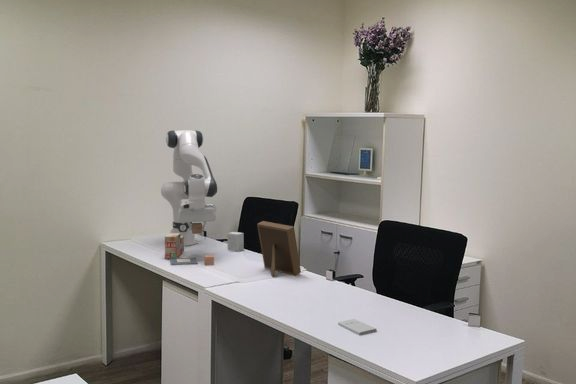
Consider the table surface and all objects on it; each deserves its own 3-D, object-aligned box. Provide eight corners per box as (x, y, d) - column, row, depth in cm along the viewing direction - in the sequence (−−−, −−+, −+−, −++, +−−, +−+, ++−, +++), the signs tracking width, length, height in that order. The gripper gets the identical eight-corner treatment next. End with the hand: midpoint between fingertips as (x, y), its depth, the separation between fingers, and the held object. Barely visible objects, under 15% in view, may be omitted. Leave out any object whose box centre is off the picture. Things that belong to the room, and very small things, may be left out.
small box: (243, 250, 332) (244, 233, 331) (238, 252, 327) (238, 234, 326) (233, 248, 336) (233, 231, 335) (227, 250, 331) (227, 232, 330)
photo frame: (270, 266, 294) (270, 219, 291) (300, 274, 279) (301, 225, 276) (249, 271, 283) (249, 223, 280) (280, 279, 269) (281, 229, 266)
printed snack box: (173, 251, 326) (173, 230, 325) (184, 251, 326) (184, 230, 325) (164, 258, 305) (164, 236, 304) (176, 258, 304) (176, 236, 303)
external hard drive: (359, 336, 197) (337, 326, 208) (376, 332, 202) (354, 322, 212) (359, 332, 197) (338, 321, 208) (376, 328, 202) (355, 318, 212)
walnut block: (191, 232, 304) (191, 223, 303) (201, 231, 305) (201, 222, 304) (192, 233, 299) (192, 224, 298) (202, 233, 300) (202, 224, 300)
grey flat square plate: (169, 259, 306) (169, 257, 306) (195, 258, 309) (195, 256, 309) (170, 265, 292) (170, 263, 292) (197, 264, 296) (197, 262, 296)
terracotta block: (204, 263, 298) (204, 255, 297) (212, 263, 299) (213, 255, 298) (205, 265, 293) (205, 257, 293) (213, 265, 295) (213, 256, 294)
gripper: (215, 203, 306) (215, 228, 307) (177, 204, 301) (177, 229, 302) (216, 205, 300) (216, 230, 301) (178, 205, 295) (178, 231, 296)
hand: (196, 229), depth 302 cm, fingers closed on walnut block, 5 cm apart
